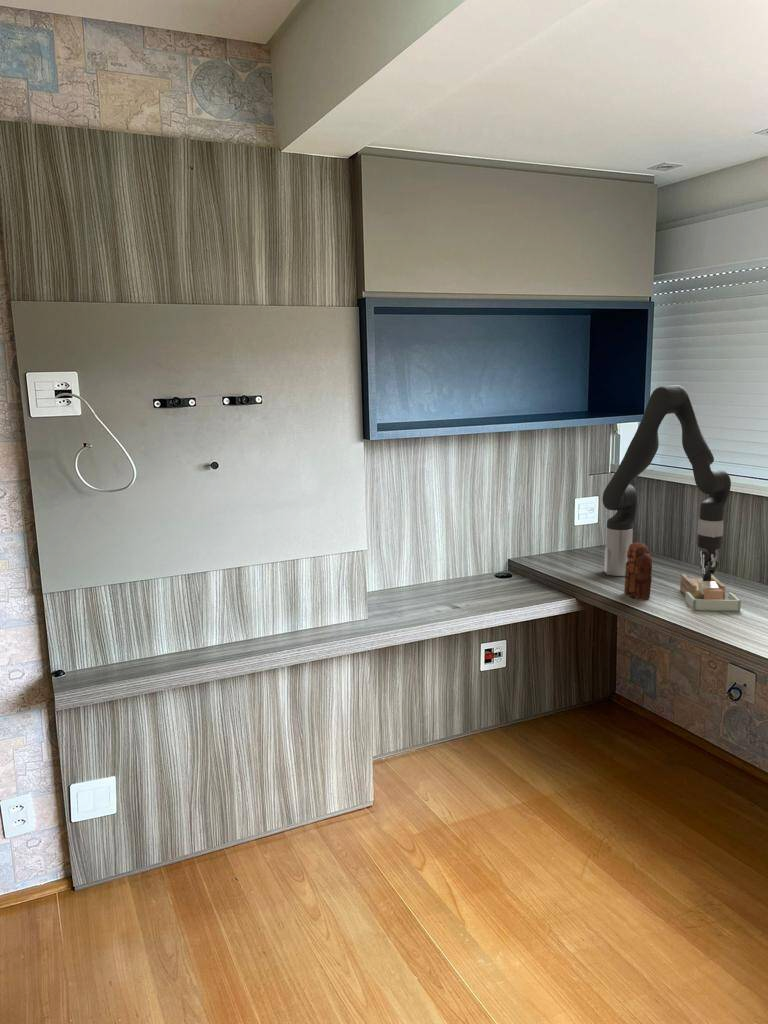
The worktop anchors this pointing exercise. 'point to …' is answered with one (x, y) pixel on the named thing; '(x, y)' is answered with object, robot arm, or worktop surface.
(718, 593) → the tile
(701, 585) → the tile
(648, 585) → the wooden figurine
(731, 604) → the tray
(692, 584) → the wooden u-channel
